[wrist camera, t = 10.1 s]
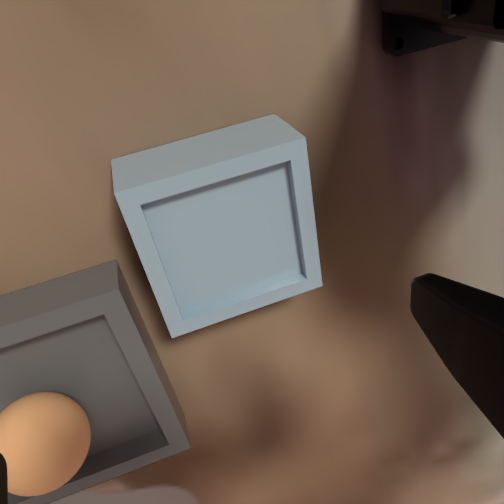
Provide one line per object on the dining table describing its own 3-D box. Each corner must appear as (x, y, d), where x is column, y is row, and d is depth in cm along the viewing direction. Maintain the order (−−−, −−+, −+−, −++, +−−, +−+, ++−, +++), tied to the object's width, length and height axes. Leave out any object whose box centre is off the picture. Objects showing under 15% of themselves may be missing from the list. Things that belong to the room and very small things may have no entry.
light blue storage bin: (274, 113, 19) (305, 137, 16) (294, 248, 23) (322, 286, 20) (110, 159, 18) (113, 193, 15) (162, 292, 22) (171, 338, 19)
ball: (67, 358, 21) (69, 433, 18) (101, 413, 24) (108, 488, 20) (-28, 395, 20) (-47, 481, 17) (17, 448, 23) (9, 533, 19)
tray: (116, 259, 21) (118, 289, 19) (184, 414, 27) (191, 448, 25) (-162, 347, 19) (-192, 389, 17) (-16, 489, 26) (-25, 532, 24)
